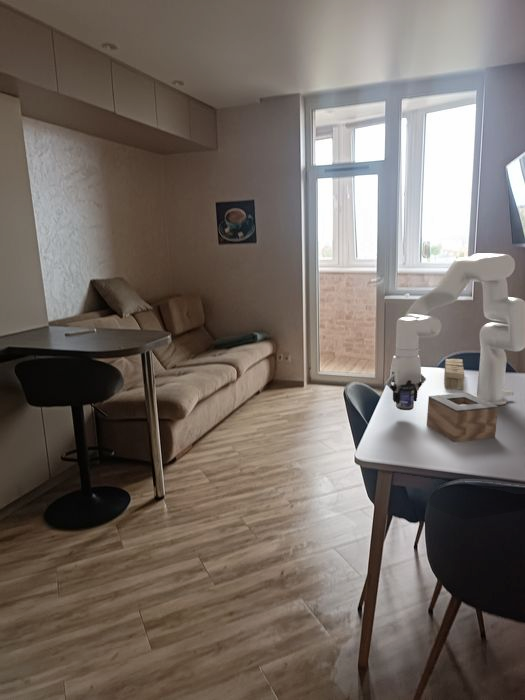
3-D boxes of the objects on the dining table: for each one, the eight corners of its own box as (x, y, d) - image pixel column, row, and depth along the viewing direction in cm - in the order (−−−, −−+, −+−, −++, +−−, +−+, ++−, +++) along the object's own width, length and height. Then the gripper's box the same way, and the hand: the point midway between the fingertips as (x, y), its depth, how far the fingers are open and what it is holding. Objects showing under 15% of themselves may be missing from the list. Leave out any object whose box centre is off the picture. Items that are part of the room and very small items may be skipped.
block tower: (444, 374, 239) (443, 389, 212) (445, 358, 237) (445, 370, 210) (461, 376, 236) (463, 391, 209) (462, 359, 234) (464, 372, 208)
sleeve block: (464, 420, 173) (467, 392, 171) (495, 437, 159) (498, 406, 157) (426, 425, 170) (428, 396, 167) (454, 442, 155) (456, 410, 153)
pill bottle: (414, 411, 171) (415, 381, 169) (396, 410, 172) (397, 380, 170) (412, 405, 177) (413, 376, 175) (395, 404, 178) (396, 375, 176)
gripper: (422, 348, 176) (420, 395, 180) (379, 352, 172) (378, 400, 176) (434, 352, 169) (432, 401, 173) (389, 357, 165) (388, 407, 169)
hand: (404, 400), depth 174 cm, fingers closed on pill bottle, 6 cm apart
